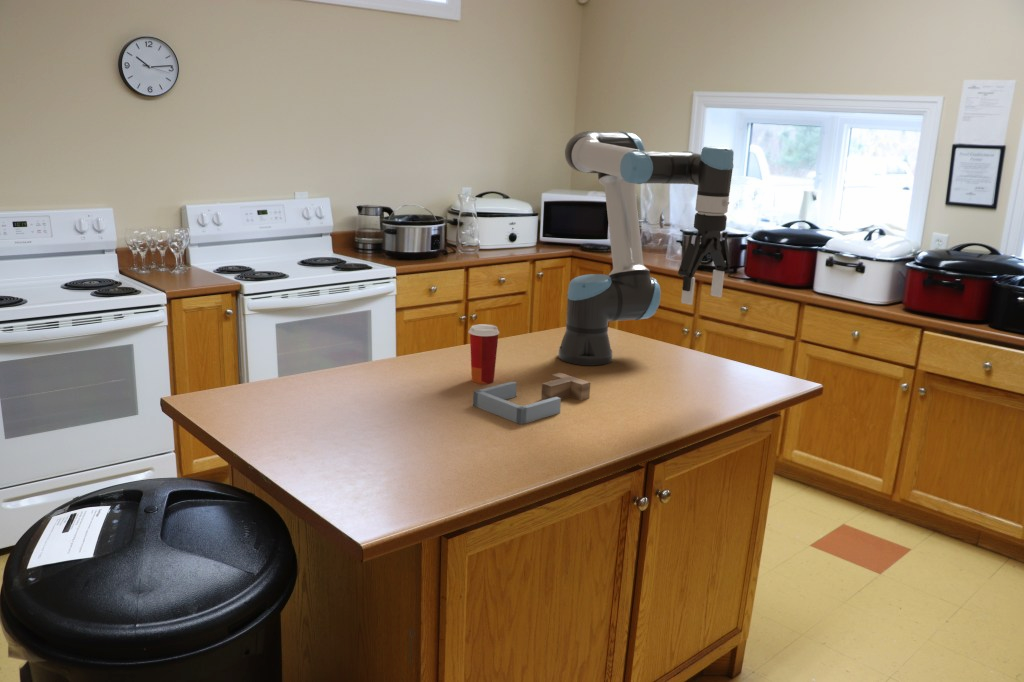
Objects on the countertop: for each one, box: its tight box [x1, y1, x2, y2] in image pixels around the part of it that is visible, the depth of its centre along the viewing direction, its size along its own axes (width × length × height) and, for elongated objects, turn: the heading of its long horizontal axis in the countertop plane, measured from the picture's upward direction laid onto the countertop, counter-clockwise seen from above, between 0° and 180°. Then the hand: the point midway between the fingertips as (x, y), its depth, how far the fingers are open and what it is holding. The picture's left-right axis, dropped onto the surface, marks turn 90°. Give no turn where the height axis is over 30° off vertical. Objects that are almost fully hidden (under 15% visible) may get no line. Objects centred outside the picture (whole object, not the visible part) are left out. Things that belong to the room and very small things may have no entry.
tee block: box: [540, 372, 591, 401], centre depth 204 cm, size 10×10×4 cm
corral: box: [472, 381, 562, 425], centre depth 194 cm, size 16×12×4 cm
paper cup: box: [467, 323, 500, 385], centre depth 213 cm, size 8×8×14 cm
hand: (701, 300), depth 207 cm, fingers open, 13 cm apart
